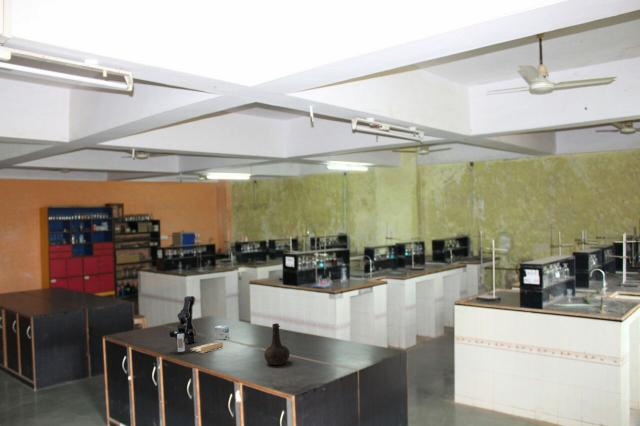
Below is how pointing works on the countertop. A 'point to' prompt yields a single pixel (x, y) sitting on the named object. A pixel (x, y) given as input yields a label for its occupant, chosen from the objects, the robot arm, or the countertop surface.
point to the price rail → (211, 346)
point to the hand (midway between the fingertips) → (180, 342)
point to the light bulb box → (222, 332)
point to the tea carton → (181, 342)
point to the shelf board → (198, 349)
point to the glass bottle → (276, 349)
